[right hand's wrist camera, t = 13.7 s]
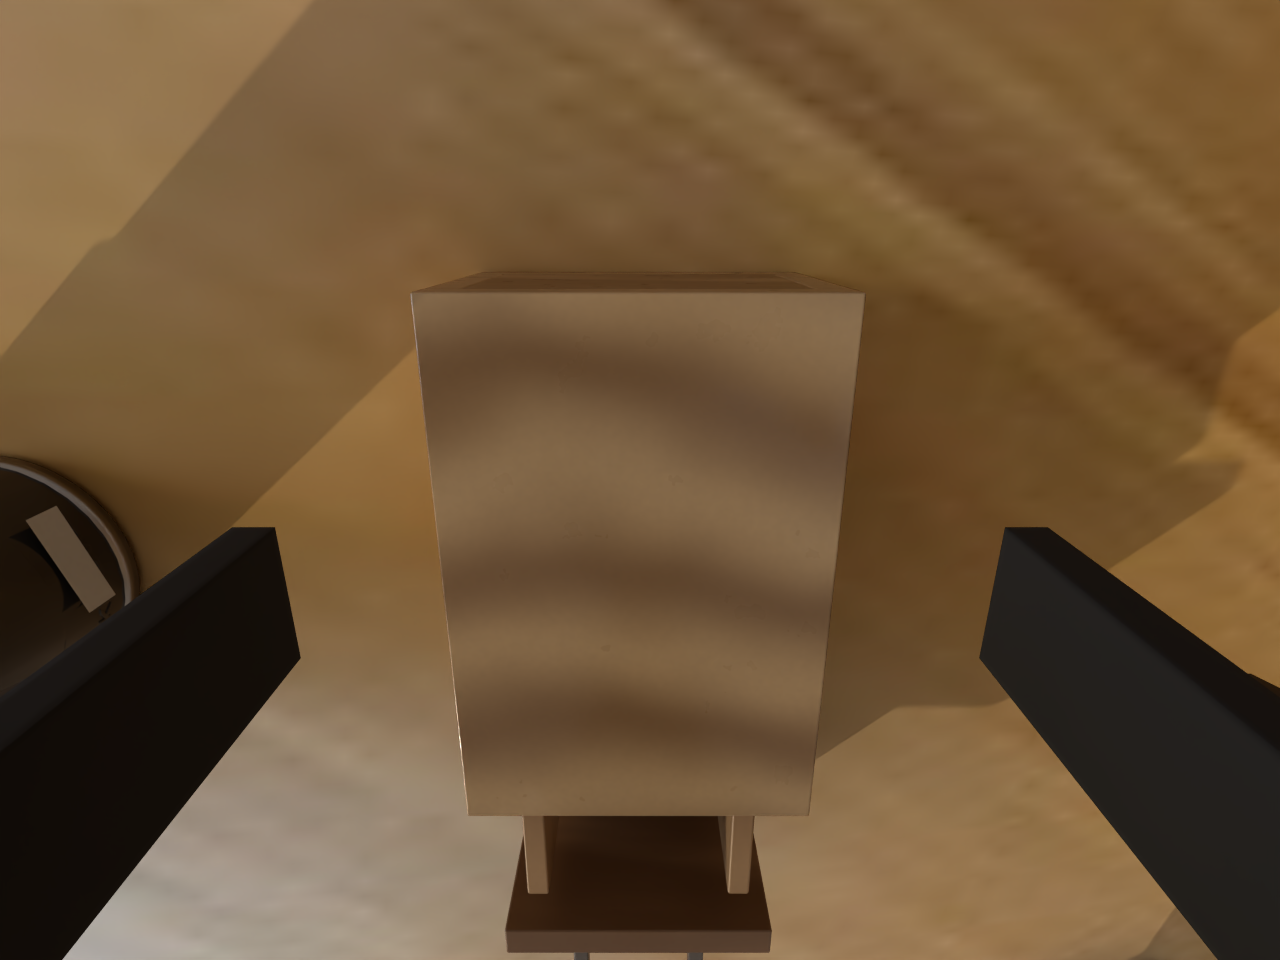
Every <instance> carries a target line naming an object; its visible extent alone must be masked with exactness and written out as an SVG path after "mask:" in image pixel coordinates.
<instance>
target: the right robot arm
mask: <svg viewBox="0 0 1280 960" xmlns="http://www.w3.org/2000/svg"><path fill="white" fill-rule="evenodd" d="M300 658H301V657H300V652H299V647H298V642H297V637H296V632H295V627H294V622H293V617H292V612H291V607H290V601H289V596H288V591H287V586H286V581H285V576H284V571H283V566H282V561H281V556H280V551H279V546H278V541H277V536H276V531H275V527H232V528H231V529H229V530H228V531H227V532H225V533H224V534H223V535H221V536H220V537H218V538H217V539H216V540H214V541H213V542H212V543H210V544H209V545H208V546H206V547H205V548H203V549H202V550H201V551H199V552H198V553H197V554H195V555H194V556H192V557H191V558H190V559H188V560H187V561H186V562H184V563H183V564H182V565H180V566H179V567H177V568H176V569H175V570H173V571H172V572H171V573H169V574H168V575H167V576H165V577H164V578H162V579H161V580H160V581H158V582H157V583H156V584H154V585H153V586H152V587H150V588H149V589H147V590H146V591H145V592H143V593H142V594H141V595H139V596H138V597H137V598H135V599H134V600H132V601H131V602H130V603H128V604H127V605H126V606H124V607H123V608H122V609H120V610H119V611H117V612H116V613H115V614H113V615H112V616H111V617H109V618H108V619H106V620H105V621H104V622H102V623H101V624H100V625H98V626H97V627H96V628H94V629H93V630H91V631H90V632H89V633H87V634H86V635H85V636H83V637H82V638H81V639H79V640H78V641H76V642H75V643H74V644H72V645H71V646H70V647H68V648H67V649H66V650H64V651H63V652H61V653H60V654H59V655H57V656H56V657H55V658H53V659H52V660H51V661H49V662H48V663H46V664H45V665H44V666H42V667H41V668H40V669H38V670H37V671H36V672H34V673H33V674H31V675H30V676H29V677H27V678H26V679H24V680H22V681H20V682H18V683H16V684H14V685H12V686H10V687H8V688H6V689H4V690H2V691H0V960H62V959H63V958H64V957H65V956H66V954H67V953H68V952H69V950H70V949H71V948H72V947H73V945H74V944H75V943H76V942H77V940H78V939H79V938H80V937H81V935H82V934H83V933H84V931H85V930H86V929H87V928H88V926H89V925H90V924H91V923H92V921H93V920H94V919H95V918H96V916H97V915H98V914H99V913H100V911H101V910H102V909H103V907H104V906H105V905H106V904H107V902H108V901H109V900H110V899H111V897H112V896H113V895H114V894H115V892H116V891H117V890H118V888H119V887H120V886H121V885H122V883H123V882H124V881H125V880H126V878H127V877H128V876H129V875H130V873H131V872H132V871H133V869H134V868H135V867H136V866H137V864H138V863H139V862H140V861H141V859H142V858H143V857H144V856H145V854H146V853H147V852H148V851H149V849H150V848H151V847H152V845H153V844H154V843H155V842H156V840H157V839H158V838H159V837H160V835H161V834H162V833H163V832H164V830H165V829H166V828H167V826H168V825H169V824H170V823H171V821H172V820H173V819H174V818H175V816H176V815H177V814H178V813H179V811H180V810H181V809H182V807H183V806H184V805H185V804H186V802H187V801H188V800H189V799H190V797H191V796H192V795H193V794H194V792H195V791H196V790H197V789H198V787H199V786H200V785H201V783H202V782H203V781H204V780H205V778H206V777H207V776H208V775H209V773H210V772H211V771H212V770H213V768H214V767H215V766H216V764H217V763H218V762H219V761H220V759H221V758H222V757H223V756H224V754H225V753H226V752H227V751H228V749H229V748H230V747H231V745H232V744H233V743H234V742H235V740H236V739H237V738H238V737H239V735H240V734H241V733H242V732H243V730H244V729H245V728H246V727H247V725H248V724H249V723H250V721H251V720H252V719H253V718H254V716H255V715H256V714H257V713H258V711H259V710H260V709H261V708H262V706H263V705H264V704H265V702H266V701H267V700H268V699H269V697H270V696H271V695H272V694H273V692H274V691H275V690H276V689H277V687H278V686H279V685H280V684H281V682H282V681H283V680H284V678H285V677H286V676H287V675H288V673H289V672H290V671H291V670H292V668H293V667H294V666H295V665H296V663H297V662H298V661H299V659H300ZM979 658H980V659H981V661H982V662H983V663H984V665H985V666H986V667H987V668H988V670H989V671H990V672H991V673H992V675H993V676H994V677H995V678H996V680H997V681H998V682H999V684H1000V685H1001V686H1002V687H1003V689H1004V690H1005V691H1006V692H1007V694H1008V695H1009V696H1010V697H1011V699H1012V700H1013V701H1014V702H1015V704H1016V705H1017V706H1018V708H1019V709H1020V710H1021V711H1022V713H1023V714H1024V715H1025V716H1026V718H1027V719H1028V720H1029V721H1030V723H1031V724H1032V725H1033V727H1034V728H1035V729H1036V730H1037V732H1038V733H1039V734H1040V735H1041V737H1042V738H1043V739H1044V740H1045V742H1046V743H1047V744H1048V746H1049V747H1050V748H1051V749H1052V751H1053V752H1054V753H1055V754H1056V756H1057V757H1058V758H1059V759H1060V761H1061V762H1062V763H1063V764H1064V766H1065V767H1066V768H1067V770H1068V771H1069V772H1070V773H1071V775H1072V776H1073V777H1074V778H1075V780H1076V781H1077V782H1078V783H1079V785H1080V786H1081V787H1082V789H1083V790H1084V791H1085V792H1086V794H1087V795H1088V796H1089V797H1090V799H1091V800H1092V801H1093V802H1094V804H1095V805H1096V806H1097V807H1098V809H1099V810H1100V811H1101V813H1102V814H1103V815H1104V816H1105V818H1106V819H1107V820H1108V821H1109V823H1110V824H1111V825H1112V826H1113V828H1114V829H1115V830H1116V832H1117V833H1118V834H1119V835H1120V837H1121V838H1122V839H1123V840H1124V842H1125V843H1126V844H1127V845H1128V847H1129V848H1130V849H1131V851H1132V852H1133V853H1134V854H1135V856H1136V857H1137V858H1138V859H1139V861H1140V862H1141V863H1142V864H1143V866H1144V867H1145V868H1146V869H1147V871H1148V872H1149V873H1150V875H1151V876H1152V877H1153V878H1154V880H1155V881H1156V882H1157V883H1158V885H1159V886H1160V887H1161V888H1162V890H1163V891H1164V892H1165V894H1166V895H1167V896H1168V897H1169V899H1170V900H1171V901H1172V902H1173V904H1174V905H1175V906H1176V907H1177V909H1178V910H1179V911H1180V913H1181V914H1182V915H1183V916H1184V918H1185V919H1186V920H1187V921H1188V923H1189V924H1190V925H1191V926H1192V928H1193V929H1194V930H1195V931H1196V933H1197V934H1198V935H1199V937H1200V938H1201V939H1202V940H1203V942H1204V943H1205V944H1206V945H1207V947H1208V948H1209V949H1210V950H1211V952H1212V953H1213V954H1214V956H1215V957H1216V958H1217V959H1218V960H1280V688H1279V687H1277V686H1275V685H1273V684H1270V683H1268V682H1266V681H1264V680H1262V679H1260V678H1258V677H1256V676H1254V675H1252V674H1247V673H1246V672H1244V671H1243V670H1242V669H1240V668H1239V667H1238V666H1236V665H1235V664H1234V663H1232V662H1231V661H1229V660H1228V659H1227V658H1225V657H1224V656H1223V655H1221V654H1220V653H1219V652H1217V651H1216V650H1214V649H1213V648H1212V647H1210V646H1209V645H1208V644H1206V643H1205V642H1204V641H1202V640H1201V639H1199V638H1198V637H1197V636H1195V635H1194V634H1193V633H1191V632H1190V631H1189V630H1187V629H1186V628H1184V627H1183V626H1182V625H1180V624H1179V623H1178V622H1176V621H1175V620H1173V619H1172V618H1171V617H1169V616H1168V615H1167V614H1165V613H1164V612H1163V611H1161V610H1160V609H1158V608H1157V607H1156V606H1154V605H1153V604H1152V603H1150V602H1149V601H1148V600H1146V599H1145V598H1143V597H1142V596H1141V595H1139V594H1138V593H1137V592H1135V591H1134V590H1133V589H1131V588H1130V587H1128V586H1127V585H1126V584H1124V583H1123V582H1122V581H1120V580H1119V579H1118V578H1116V577H1115V576H1113V575H1112V574H1111V573H1109V572H1108V571H1107V570H1105V569H1104V568H1103V567H1101V566H1100V565H1098V564H1097V563H1096V562H1094V561H1093V560H1092V559H1090V558H1089V557H1088V556H1086V555H1085V554H1083V553H1082V552H1081V551H1079V550H1078V549H1077V548H1075V547H1074V546H1072V545H1071V544H1070V543H1068V542H1067V541H1066V540H1064V539H1063V538H1062V537H1060V536H1059V535H1057V534H1056V533H1055V532H1053V531H1052V530H1051V529H1049V528H1048V527H1005V531H1004V536H1003V541H1002V546H1001V551H1000V556H999V561H998V566H997V571H996V576H995V581H994V586H993V591H992V596H991V601H990V607H989V612H988V617H987V622H986V627H985V632H984V637H983V642H982V647H981V652H980V657H979Z"/></svg>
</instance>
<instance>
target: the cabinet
mask: <svg viewBox="0 0 1280 960" xmlns="http://www.w3.org/2000/svg"><path fill="white" fill-rule="evenodd" d="M410 295H411V304H412V313H413V322H414V331H415V341H416V350H417V359H418V368H419V377H420V386H421V395H422V404H423V413H424V422H425V431H426V440H427V449H428V459H429V468H430V477H431V486H432V495H433V504H434V513H435V522H436V531H437V540H438V549H439V558H440V568H441V577H442V586H443V595H444V604H445V613H446V622H447V631H448V640H449V649H450V658H451V667H452V676H453V686H454V695H455V704H456V713H457V722H458V731H459V740H460V749H461V758H462V767H463V776H464V785H465V795H466V804H467V813H468V816H808V815H809V808H810V799H811V790H812V781H813V772H814V763H815V754H816V745H817V735H818V726H819V717H820V708H821V699H822V690H823V681H824V672H825V662H826V653H827V644H828V635H829V626H830V617H831V608H832V599H833V590H834V580H835V571H836V562H837V553H838V544H839V535H840V526H841V517H842V507H843V498H844V489H845V480H846V471H847V462H848V453H849V444H850V434H851V425H852V416H853V407H854V398H855V389H856V380H857V371H858V362H859V352H860V343H861V334H862V325H863V316H864V307H865V298H866V293H865V292H862V291H858V290H855V289H850V288H847V287H843V286H840V285H836V284H833V283H829V282H826V281H822V280H819V279H815V278H812V277H809V276H805V275H802V274H798V273H750V272H482V273H478V274H475V275H471V276H468V277H464V278H461V279H457V280H454V281H450V282H446V283H443V284H439V285H436V286H432V287H429V288H425V289H421V290H417V291H414V292H411V294H410Z"/></svg>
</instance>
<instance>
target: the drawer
mask: <svg viewBox="0 0 1280 960" xmlns="http://www.w3.org/2000/svg"><path fill="white" fill-rule="evenodd" d="M522 821H523V840H522V845H521V850H520V855H519V860H518V866H517V871H516V876H515V881H514V886H513V892H512V897H511V902H510V907H509V913H508V918H507V923H506V928H505V936H506V947H507V952H508V953H574V960H590V953H687V960H703V953H769V952H770V944H771V933H772V930H771V924H770V919H769V914H768V908H767V903H766V898H765V892H764V887H763V882H762V876H761V871H760V866H759V860H758V855H757V850H756V844H755V839H754V834H753V829H754V816H522Z"/></svg>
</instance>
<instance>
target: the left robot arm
mask: <svg viewBox="0 0 1280 960" xmlns="http://www.w3.org/2000/svg"><path fill="white" fill-rule="evenodd" d="M139 591H140V588H139V575H138V570H137V566H136V562H135V559H134V556H133V553H132V551H131V548H130V546H129V544H128V542H127V540H126V538H125V537H124V535H123V533H122V532H121V530H120V529H119V527H118V526H117V524H116V523H115V522H114V520H113V519H112V518H111V517H110V516H109V514H108V513H107V512H106V511H105V510H104V509H103V508H102V507H101V506H100V505H99V504H98V503H97V502H96V501H95V500H94V499H93V498H92V497H91V496H89V495H88V494H87V493H86V492H84V491H83V490H82V489H80V488H79V487H78V486H76V485H75V484H73V483H72V482H70V481H69V480H67V479H65V478H64V477H62V476H60V475H58V474H56V473H54V472H52V471H50V470H48V469H46V468H43V467H41V466H38V465H35V464H33V463H30V462H26V461H23V460H19V459H15V458H9V457H3V456H0V691H2V690H4V689H6V688H8V687H10V686H12V685H14V684H16V683H18V682H20V681H22V680H24V679H26V678H27V677H29V676H30V675H31V674H33V673H34V672H36V671H37V670H38V669H40V668H41V667H42V666H44V665H45V664H46V663H48V662H49V661H51V660H52V659H53V658H55V657H56V656H57V655H59V654H60V653H61V652H63V651H64V650H66V649H67V648H68V647H70V646H71V645H72V644H74V643H75V642H76V641H78V640H79V639H81V638H82V637H83V636H85V635H86V634H87V633H89V632H90V631H91V630H93V629H94V628H96V627H97V626H98V625H100V624H101V623H102V622H104V621H105V620H106V619H108V618H109V617H111V616H112V615H113V614H115V613H116V612H117V611H119V610H120V609H122V608H123V607H124V606H126V605H127V604H128V603H130V602H131V601H132V600H134V599H135V598H137V597H138V596H139Z"/></svg>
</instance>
